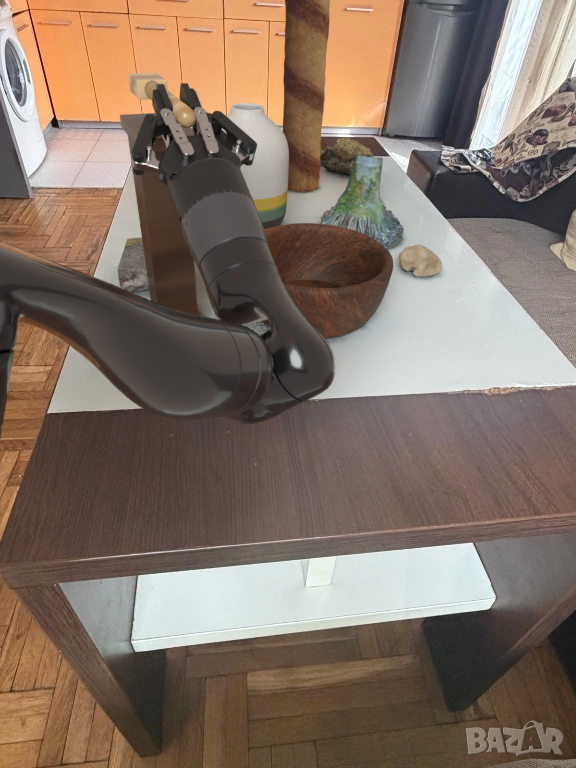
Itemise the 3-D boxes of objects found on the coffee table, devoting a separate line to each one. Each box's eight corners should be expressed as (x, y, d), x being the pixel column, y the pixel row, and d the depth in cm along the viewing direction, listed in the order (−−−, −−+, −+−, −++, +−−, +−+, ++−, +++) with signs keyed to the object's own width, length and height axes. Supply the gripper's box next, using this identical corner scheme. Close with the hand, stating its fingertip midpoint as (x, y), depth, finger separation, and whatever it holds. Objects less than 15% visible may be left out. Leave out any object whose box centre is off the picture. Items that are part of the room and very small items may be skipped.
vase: (299, 235, 114) (306, 113, 99) (226, 247, 107) (222, 119, 92) (266, 208, 125) (268, 95, 110) (198, 217, 119) (190, 99, 104)
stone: (410, 271, 108) (389, 252, 103) (435, 251, 106) (415, 230, 100) (423, 293, 104) (402, 274, 99) (450, 271, 101) (430, 251, 96)
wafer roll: (271, 182, 140) (276, -34, 111) (305, 177, 144) (319, -32, 116) (290, 195, 133) (300, -32, 104) (325, 189, 137) (345, -29, 109)
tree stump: (316, 249, 109) (320, 156, 102) (320, 234, 127) (324, 154, 120) (405, 253, 108) (416, 158, 100) (397, 237, 126) (405, 156, 118)
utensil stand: (215, 343, 81) (204, 134, 62) (163, 354, 78) (135, 139, 59) (192, 305, 89) (176, 111, 70) (145, 314, 86) (115, 114, 67)
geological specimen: (115, 272, 87) (126, 230, 98) (122, 303, 91) (132, 260, 102) (181, 269, 88) (184, 229, 99) (185, 300, 92) (188, 258, 103)
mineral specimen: (361, 165, 155) (365, 128, 149) (380, 179, 145) (386, 141, 139) (315, 167, 151) (318, 130, 145) (332, 182, 142) (335, 143, 135)
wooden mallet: (130, 91, 67) (127, 73, 65) (158, 90, 68) (156, 72, 67) (172, 131, 53) (170, 109, 51) (206, 129, 54) (205, 108, 53)
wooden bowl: (381, 360, 79) (393, 301, 73) (221, 338, 82) (218, 279, 75) (385, 283, 99) (395, 230, 92) (255, 267, 101) (256, 215, 95)
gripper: (294, 187, 50) (237, 57, 55) (150, 203, 45) (102, 58, 50) (276, 236, 57) (227, 116, 62) (148, 254, 52) (106, 122, 57)
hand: (171, 91), depth 56 cm, fingers closed on wooden mallet, 2 cm apart
